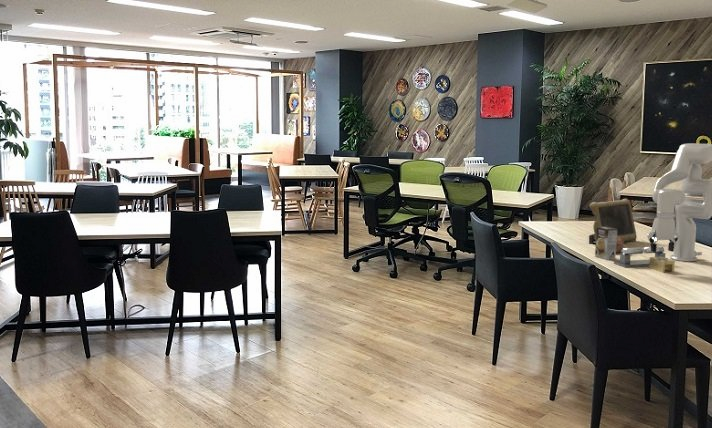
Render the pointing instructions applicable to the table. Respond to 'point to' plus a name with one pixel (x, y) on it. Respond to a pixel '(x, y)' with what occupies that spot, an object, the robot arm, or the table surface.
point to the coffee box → (606, 243)
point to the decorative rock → (619, 244)
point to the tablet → (614, 219)
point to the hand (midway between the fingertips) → (662, 251)
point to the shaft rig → (625, 255)
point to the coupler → (661, 264)
